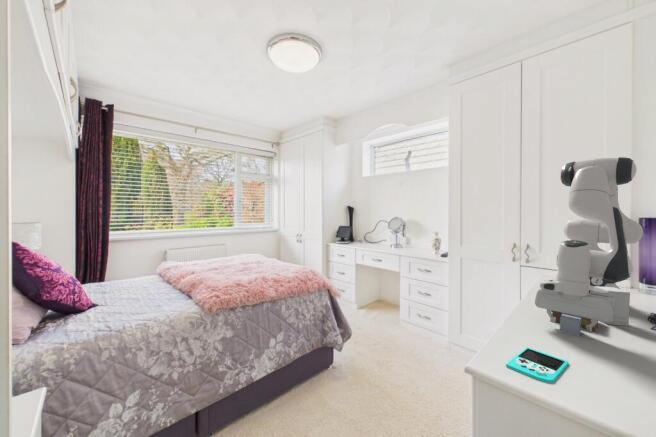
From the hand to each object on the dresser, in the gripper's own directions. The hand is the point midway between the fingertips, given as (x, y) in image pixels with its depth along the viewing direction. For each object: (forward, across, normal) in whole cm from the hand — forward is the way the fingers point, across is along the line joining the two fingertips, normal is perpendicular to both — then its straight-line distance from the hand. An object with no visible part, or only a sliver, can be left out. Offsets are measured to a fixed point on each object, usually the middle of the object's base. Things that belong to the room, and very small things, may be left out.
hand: (570, 326), depth 97 cm
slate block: (+2, 0, 0) cm, 2 cm away
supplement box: (+2, -9, -24) cm, 26 cm away
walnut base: (+2, 0, -13) cm, 13 cm away
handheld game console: (+2, +3, +35) cm, 35 cm away
